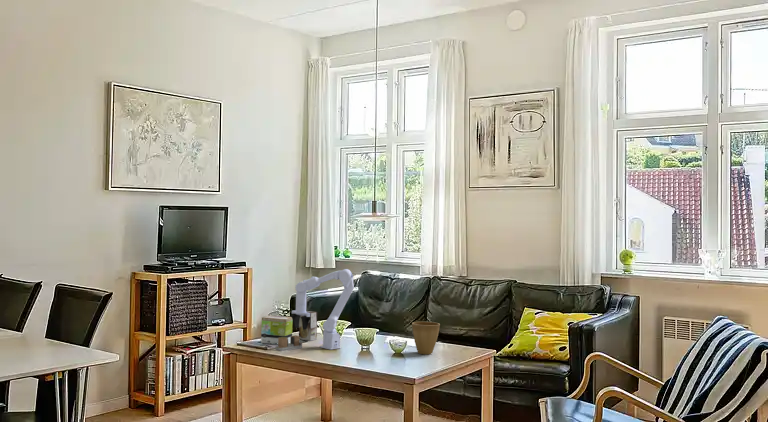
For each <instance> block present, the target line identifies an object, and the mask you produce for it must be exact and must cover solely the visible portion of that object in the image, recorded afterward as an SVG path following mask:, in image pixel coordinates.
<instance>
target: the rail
mask: <svg viewBox="0 0 768 422" xmlns="http://www.w3.org/2000/svg"><path fill="white" fill-rule="evenodd" d="M274 348H275V351H279V352H282V351H291V350H297V349H303V343H302V342H299V346H293V344H290V343H288V338H287V337H278V344H277V346H275V347H274Z"/></svg>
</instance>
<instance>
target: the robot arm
mask: <svg viewBox="0 0 768 422" xmlns="http://www.w3.org/2000/svg"><path fill="white" fill-rule="evenodd" d="M331 280H340V282H341V283H342V285H343V287H344V289H343V290H342V292H341V294H340V296H339V298H338V300H337V302H336V304H335V305H334V308H333V310H332V311H331V313H330V314H329V317H328V318H327V319H326V320H325V321H324V322H323V324H322V328H323V330H322V331H323V332H322V333H323V336H322V339H323V340H322V345H320V346H319V348H321V349H322V348H323V349H326V350H337V349H342V347H341V335H340V333H338V332H337V329H336V328H337V325H338V323H337V322H338V320H339V317H340V315H341V313H342V312H343V310H344V309H345V306H346V304H347V302H348V301H349V298H350V297H351V294H352V293H353V292H354V288H355V286H354V275H353V273H352V271H351V270H350V269H349V268H343V269H342V270H341V269H340V270H336V271H332V272H330V273H327V274H325V275H322V276H320V277H318V276H311V277H310V278H308V279H303V280H302V281H299V282H298V283H296V285H295V291H296V292H295V293H296V295H295V310H291V315H290V317H292V319H293V326H294V328H295V329H296V328H297V329H299V320H300V316H304V317H301V319H302V327H303V330H305V329H307V326H308V323H309V320H310V319H311V317H310V313H308V312H306V311H307V298H308V297H307V291H310V290H313V289H315V288H316V289H317V288H318V287H320V285H321V284H322V283H326V282H327V281H331Z"/></svg>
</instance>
